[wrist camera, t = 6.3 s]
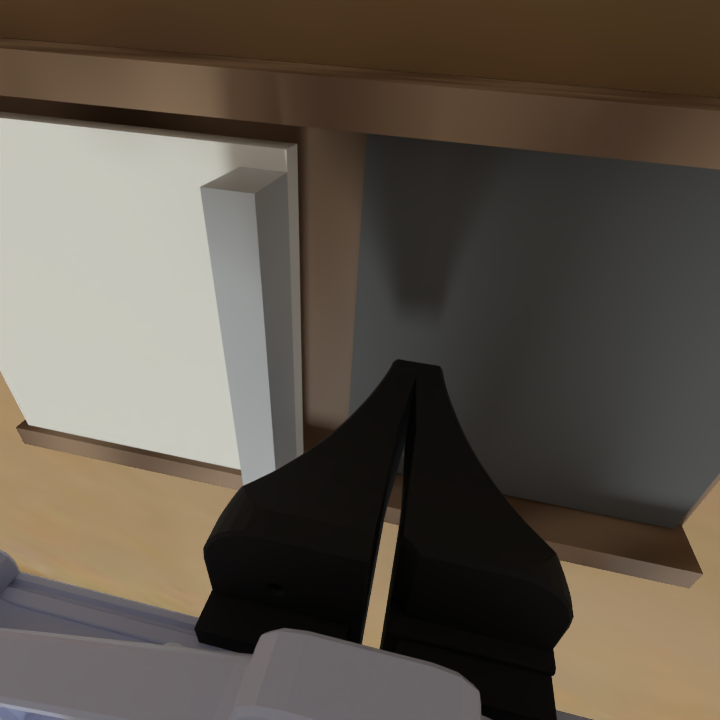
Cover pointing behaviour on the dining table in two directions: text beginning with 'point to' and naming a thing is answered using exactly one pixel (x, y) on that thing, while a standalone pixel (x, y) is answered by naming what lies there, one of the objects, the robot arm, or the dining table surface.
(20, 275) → the sliding door
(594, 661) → the dining table surface
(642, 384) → the panel
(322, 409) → the tray
